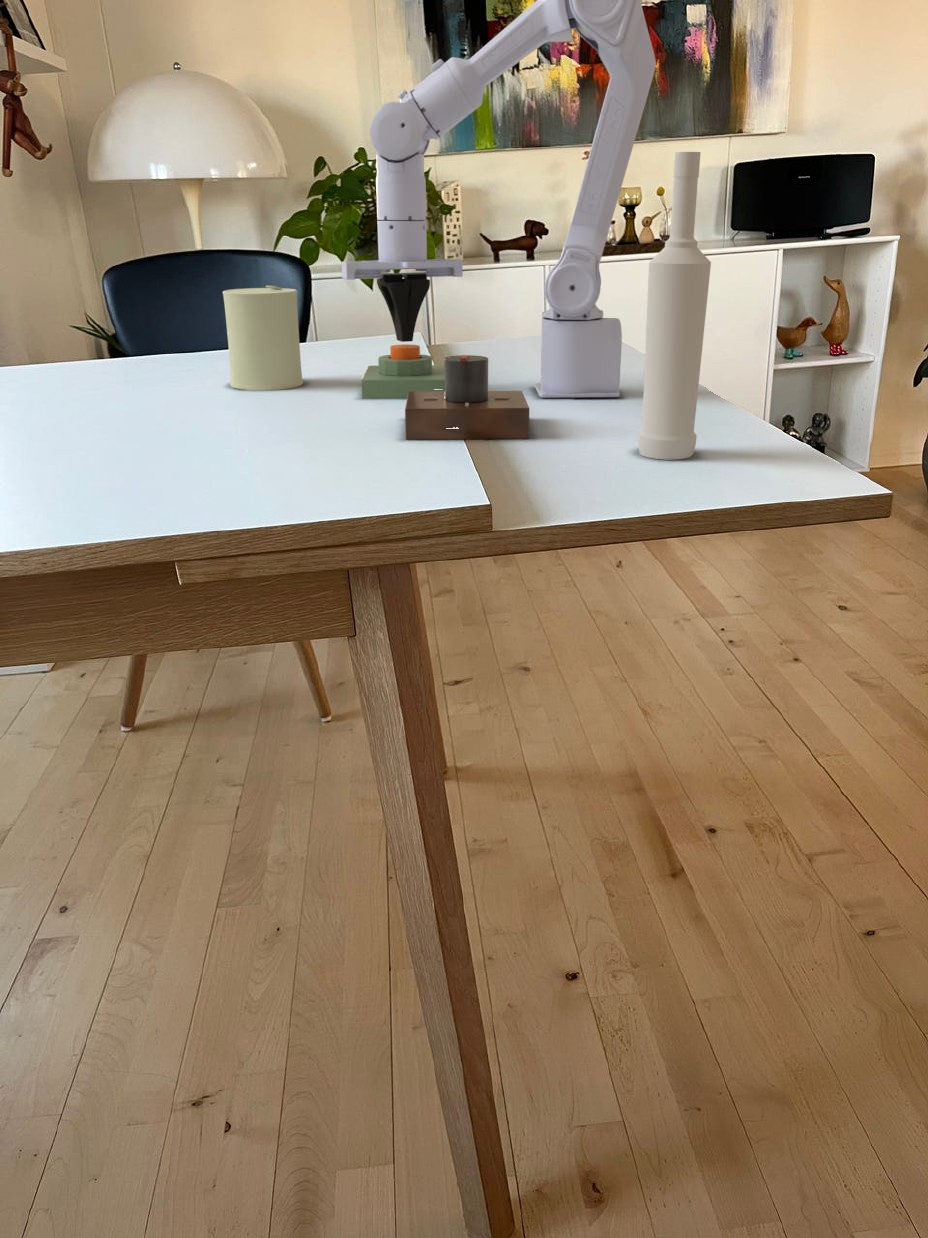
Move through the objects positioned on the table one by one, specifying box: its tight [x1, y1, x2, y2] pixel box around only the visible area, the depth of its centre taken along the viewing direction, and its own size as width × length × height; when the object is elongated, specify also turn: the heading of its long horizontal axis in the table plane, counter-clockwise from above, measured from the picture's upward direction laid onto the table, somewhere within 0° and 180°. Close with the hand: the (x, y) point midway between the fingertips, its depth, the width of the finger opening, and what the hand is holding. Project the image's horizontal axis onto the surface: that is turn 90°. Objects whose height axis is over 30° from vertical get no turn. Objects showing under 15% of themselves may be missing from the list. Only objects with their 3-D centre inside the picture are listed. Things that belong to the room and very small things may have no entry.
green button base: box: [360, 353, 444, 400], centre depth 124 cm, size 10×12×4 cm
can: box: [222, 285, 304, 391], centre depth 127 cm, size 9×9×12 cm
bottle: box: [637, 151, 712, 461], centre depth 87 cm, size 5×5×25 cm
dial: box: [443, 354, 489, 403], centre depth 101 cm, size 4×4×4 cm
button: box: [389, 343, 421, 360], centre depth 123 cm, size 4×4×2 cm
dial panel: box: [404, 390, 530, 440], centre depth 102 cm, size 12×10×3 cm
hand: (404, 340), depth 123 cm, fingers closed
